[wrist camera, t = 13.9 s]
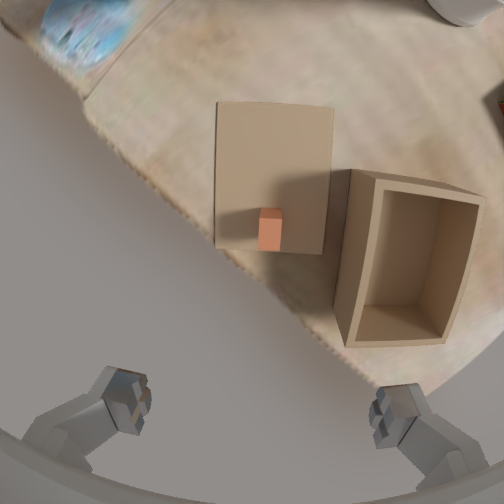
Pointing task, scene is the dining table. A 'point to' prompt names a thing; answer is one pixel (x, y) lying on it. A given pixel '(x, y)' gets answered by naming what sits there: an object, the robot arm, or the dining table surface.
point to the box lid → (272, 176)
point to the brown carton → (404, 259)
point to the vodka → (465, 10)
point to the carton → (501, 105)
